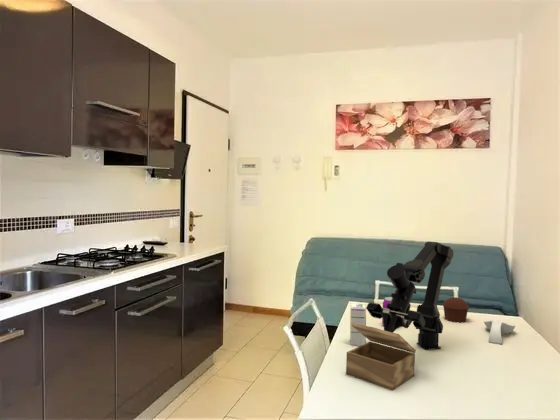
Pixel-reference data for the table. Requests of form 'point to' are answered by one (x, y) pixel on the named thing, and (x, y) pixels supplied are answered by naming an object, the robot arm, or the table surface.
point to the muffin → (455, 310)
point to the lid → (384, 337)
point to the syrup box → (359, 318)
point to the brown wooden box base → (380, 365)
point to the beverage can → (385, 302)
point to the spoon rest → (498, 330)
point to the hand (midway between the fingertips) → (385, 337)
